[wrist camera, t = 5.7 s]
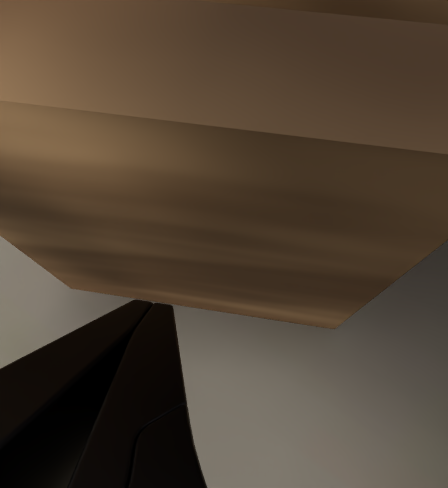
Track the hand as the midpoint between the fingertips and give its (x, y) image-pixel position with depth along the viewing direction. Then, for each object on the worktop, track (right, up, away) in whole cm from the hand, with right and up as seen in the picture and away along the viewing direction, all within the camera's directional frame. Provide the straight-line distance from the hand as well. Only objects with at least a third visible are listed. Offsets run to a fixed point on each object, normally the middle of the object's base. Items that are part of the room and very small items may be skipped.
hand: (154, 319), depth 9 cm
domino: (+1, 0, +8) cm, 8 cm away
